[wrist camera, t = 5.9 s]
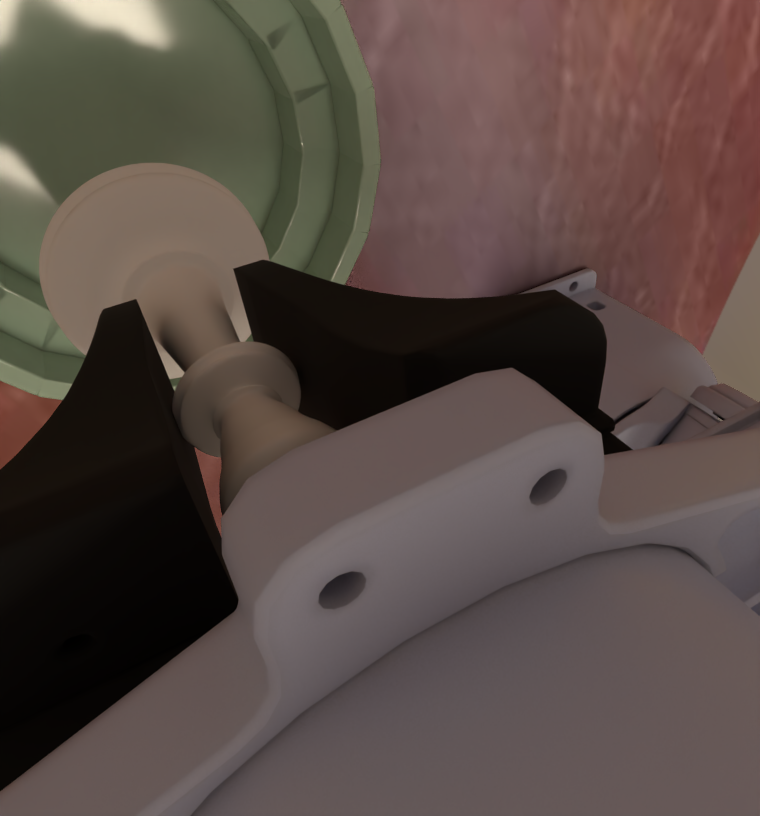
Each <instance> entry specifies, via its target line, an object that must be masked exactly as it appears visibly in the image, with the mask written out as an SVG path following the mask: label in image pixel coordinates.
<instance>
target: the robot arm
mask: <svg viewBox="0 0 760 816" xmlns="http://www.w3.org/2000/svg"><path fill="white" fill-rule="evenodd" d="M233 270H234V274H235V277H236V281H237V284H238V288H239V291H240V295H241V298H242V302H243V305H244V309H245V312H246V316H247V319H248V323H249V326H250V330H251V334H252V337H253V341H254V342H259V343H264V344H267V345H270V346H272V347H274V348H276V349H278V350H279V351H281V352H282V353H284V354H285V355H286V356H287V357H288V358H289V359H290V361H291V362H292V364H293V365H294V367H295V369H296V371H297V374H298V378H299V384H300V389H301V400H300V405H299V409H298V412H299V413H301V414H303V415H305V416H307V417H309V418H312V419H316V420H318V421H320V422H322V423H324V424H326V425H328V426H330V427H332V428H333V429H335V430H337V431H336V432H333V433H331V434H328V435H326V436H323V437H321V438H319V439H316V440H314V441H311V442H309V443H307V444H304V445H302V446H299V447H297V448H295V449H292V450H290V451H289V452H287V453H286V454H284V455H283V456H281V457H280V458H278V459H277V460H275V461H274V462H272V463H271V464H269V465H268V466H266V467H265V468H263V469H262V470H260V471H258V472H257V473H255V474H254V475H252V476H251V477H249V478H248V479H247V480H246V481H245V483H244V484H243V486H242V487H241V489H240V491H239V492H238V494H237V495H236V497H235V498H234V500H233V501H232V503H231V504H230V506H229V507H228V509H227V510H226V512H225V514H224V515H223V517H222V518H221V532H222V538H221V536H220V533H219V531H218V528H217V526H216V523H215V520H214V517H213V514H212V511H211V508H210V504H209V501H208V497H207V493H206V489H205V486H204V482H203V478H202V475H201V471H200V467H199V463H198V460H197V456H196V452H195V449H194V446H193V445H192V444H190V443H189V442H188V441H187V440H186V439H185V438H184V437H183V436H182V434H181V431H180V429H179V427H178V424H177V422H176V420H175V417H174V414H173V412H172V402H173V396H174V393H175V391H174V389H173V387H172V384H171V382H170V379H169V377H168V374H167V372H166V370H165V367H164V365H163V362H162V360H161V357H160V355H159V353H158V350H157V348H156V345H155V343H154V340H153V338H152V336H151V333H150V331H149V328H148V326H147V323H146V321H145V318H144V316H143V314H142V311H141V309H140V306H139V304H138V302H137V299H134V300H131V301H128V302H124V303H121V304H118V305H115V306H111V307H108V308H105V309H103V310H102V312H101V314H100V316H99V320H98V323H97V327H96V330H95V333H94V336H93V339H92V342H91V344H90V347H89V349H88V352H87V354H86V357H85V359H84V362H83V364H82V366H81V368H80V370H79V372H78V374H77V376H76V378H75V380H74V382H73V384H72V386H71V387H70V389H69V391H68V393H67V394H66V396H65V397H64V399H63V401H62V402H61V403H60V405H59V406H58V407H57V409H56V410H55V412H54V413H53V414H52V416H51V417H50V418H49V420H48V421H47V422H46V423H45V424H44V426H43V427H42V428H41V429H40V430H39V431H38V432H37V433H36V434H35V435H34V436H33V438H32V439H31V440H30V441H29V442H28V443H27V444H26V445H25V446H24V447H23V448H22V449H21V451H20V452H19V453H18V454H17V455H16V456H15V457H14V458H13V459H12V460H10V461H9V462H8V463H7V464H6V465H5V466H4V467H3V468H2V469H1V470H0V816H760V402H757V401H755V400H754V399H752V398H750V397H748V396H747V395H745V394H743V393H741V392H739V391H738V390H736V389H734V388H732V387H730V386H728V385H726V384H718V383H717V380H716V377H715V375H714V373H713V371H712V370H711V367H710V366H709V364H708V363H707V361H706V360H705V358H704V357H703V356H702V354H701V353H700V352H699V351H698V350H697V349H696V348H695V347H694V346H693V345H692V344H691V343H690V342H689V341H687V340H686V339H684V338H683V337H681V336H680V335H678V334H676V333H675V332H673V331H671V330H669V329H667V328H666V327H664V326H662V325H660V324H659V323H657V322H655V321H653V320H651V319H650V318H648V317H646V316H644V315H642V314H641V313H639V312H637V311H635V310H633V309H632V308H630V307H628V306H626V305H624V304H623V303H621V302H619V301H617V300H616V299H614V298H612V297H610V296H608V295H607V294H605V293H603V292H601V291H599V290H598V289H596V288H595V285H596V278H597V274H596V272H595V271H593V270H591V269H589V268H587V269H584V270H581V271H578V272H576V273H573V274H570V275H568V276H565V277H562V278H560V279H557V280H554V281H552V282H549V283H546V284H544V285H541V286H538V287H536V288H533V289H530V290H528V291H525V292H522V293H520V294H516V295H509V296H500V297H484V298H460V299H444V298H421V297H409V296H400V295H393V294H386V293H379V292H373V291H368V290H363V289H359V288H355V287H351V286H347V285H343V284H339V283H335V282H332V281H328V280H325V279H322V278H319V277H316V276H313V275H310V274H307V273H304V272H301V271H298V270H295V269H292V268H289V267H286V266H283V265H281V264H278V263H275V262H271V261H268V260H259V261H256V262H253V263H250V264H247V265H243V266H240V267H237V268H234V269H233ZM571 284H572V285H571ZM570 285H571V286H570ZM718 417H719V418H720V419H722V420H723V421H719V420H718Z"/></svg>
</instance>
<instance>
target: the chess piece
mask: <svg viewBox="0 0 760 816" xmlns="http://www.w3.org/2000/svg"><path fill="white" fill-rule="evenodd" d="M259 260H268V261H269V255H268V251H267V248H266V245H265V242H264V239H263V237H262V235H261V233H260V231H259V229H258V227H257V225H256V224H255V222H254V220H253V218H252V217H251V215H250V213H249V212H248V210H247V209H246V208H245V206H244V205H243V204H242V203H241V202H240V200H239V199H238V198H237V197H236V196H235V195H234V194H233V193H232V192H230V191H229V190H228V189H227V188H226V187H224V186H223V185H222V184H220V183H219V182H217V181H216V180H214V179H212V178H210V177H209V176H207V175H205V174H202V173H200V172H198V171H195V170H193V169H190V168H186V167H183V166H178V165H173V164H167V163H138V164H131V165H126V166H122V167H118V168H115V169H112V170H109V171H106V172H104V173H102V174H100V175H98V176H96V177H94V178H92V179H90V180H89V181H87V182H86V183H84V184H83V185H81V186H80V187H79V188H77V189H76V190H75V191H74V192H73V193H72V194H71V195H70V196H69V197H68V198H67V199H66V200H65V201H64V202H63V203H62V204H61V206H60V207H59V208H58V210H57V211H56V213H55V214H54V216H53V217H52V219H51V221H50V223H49V225H48V227H47V229H46V232H45V235H44V238H43V241H42V245H41V250H40V257H39V276H40V283H41V288H42V292H43V296H44V299H45V301H46V304H47V306H48V308H49V310H50V312H51V314H52V316H53V318H54V319H55V321H56V322H57V324H58V325H59V326H60V328H61V330H62V331H63V332H64V334H65V335H66V337H67V338H68V339H69V340H70V341H71V343H72V344H73V345H74V346H75V347H76V348H77V349H78V350H80V351H81V352H82V353H83V354H84V355H86V354H87V352H88V349H89V347H90V344H91V342H92V339H93V336H94V333H95V330H96V327H97V323H98V320H99V316H100V314H101V312H102V310H103V309H105V308H108V307H111V306H115V305H118V304H121V303H124V302H128V301H131V300H134V299H137V302H138V304H139V306H140V309H141V311H142V314H143V316H144V318H145V321H146V323H147V326H148V328H149V331H150V333H151V336H152V338H153V340H154V343H155V345H156V348H157V350H158V353H159V355H160V357H161V360H162V362H163V365H164V367H165V370H166V372H167V374H168V377H169V379H174V378H180V377H182V378H181V379H180V381H179V383H178V385H177V387H176V390H175V393H174V396H173V402H172V412H173V414H174V417H175V420H176V422H177V424H178V427H179V429H180V431H181V434H182V436H183V437H184V438H185V439H186V440H187V441H188V442H189V443H190V444H192V445H193V446H194V447H196V448H197V449H198V450H200V451H202V452H204V453H206V454H209V455H212V456H216V457H221V460H222V471H221V475H220V506H221V512H222V515H224V514H225V512H226V510H227V509H228V507H229V506H230V504H231V503H232V501H233V500H234V498H235V497H236V495H237V494H238V492H239V491H240V489H241V487H242V486H243V484H244V483H245V481H246V480H247V479H248V478H249V477H251V476H252V475H254V474H255V473H257V472H258V471H260V470H262V469H263V468H265V467H266V466H268V465H269V464H271V463H272V462H274V461H275V460H277V459H278V458H280V457H281V456H283V455H284V454H286V453H287V452H289V451H290V450H292V449H295V448H297V447H299V446H302V445H304V444H307V443H309V442H311V441H314V440H316V439H319V438H321V437H323V436H326V435H328V434H331V433H333V432H336V431H337V430H335V429H333V428H332V427H330V426H328V425H326V424H324V423H322V422H320V421H318V420H316V419H312V418H309V417H307V416H305V415H303V414H301V413H299V412H298V409H299V405H300V400H301V389H300V384H299V378H298V374H297V371H296V369H295V367H294V365H293V364H292V362H291V361H290V359H289V358H288V357H287V356H286V355H285V354H284V353H282V352H281V351H279V350H278V349H276V348H274V347H272V346H270V345H267V344H264V343H259V342H245V341H246V340H247V339H248V337H249V336H250V335H251V330H250V326H249V323H248V319H247V316H246V312H245V309H244V305H243V302H242V298H241V295H240V291H239V288H238V284H237V281H236V277H235V274H234V270H233V269H234V268H237V267H240V266H243V265H247V264H250V263H253V262H256V261H259Z"/></svg>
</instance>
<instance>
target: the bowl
mask: <svg viewBox="0 0 760 816" xmlns="http://www.w3.org/2000/svg"><path fill="white" fill-rule="evenodd" d="M372 85H373V83H372V80H371V78H370V75H369V73H368V70H367V67H366V65H365V62H364V59H363V57H362V54H361V52H360V49H359V46H358V44H357V41H356V38H355V36H354V33H353V30H352V28H351V25H350V23H349V20H348V17H347V15H346V12H345V9H344V7H343V5H342V4H341V1H340V0H0V381H2V382H5V383H7V384H10V385H12V386H14V387H17V388H19V389H22V390H24V391H26V392H29V393H31V394H33V395H37V396H39V397H45V398H52V399H59V400H63V399H64V397H65V396H66V394H67V393H68V391H69V389H70V387H71V386H72V384H73V382H74V380H75V378H76V376H77V374H78V372H79V370H80V368H81V366H82V364H83V362H84V359H85V357H86V355H84V354H83V353H82V352H81V351H80V350H78V349H77V348H76V347H75V346H74V345H73V344H72V343H71V341H70V340H69V339H68V338H67V337H66V335H65V334H64V332H63V331H62V330H61V328H60V326H59V325H58V324H57V322H56V321H55V319H54V318H53V316H52V314H51V312H50V310H49V308H48V306H47V304H46V301H45V299H44V296H43V292H42V288H41V283H40V276H39V257H40V250H41V245H42V241H43V238H44V235H45V232H46V229H47V227H48V225H49V223H50V221H51V219H52V217H53V216H54V214H55V213H56V211H57V210H58V208H59V207H60V206H61V204H62V203H63V202H64V201H65V200H66V199H67V198H68V197H69V196H70V195H71V194H72V193H73V192H74V191H75V190H76V189H77V188H79V187H80V186H81V185H83V184H84V183H86V182H87V181H89V180H90V179H92V178H94V177H96V176H98V175H100V174H102V173H104V172H106V171H109V170H112V169H115V168H118V167H122V166H126V165H131V164H138V163H167V164H173V165H178V166H183V167H186V168H190V169H193V170H195V171H198V172H200V173H202V174H205V175H207V176H209V177H210V178H212V179H214V180H216V181H217V182H219V183H220V184H222V185H223V186H224V187H226V188H227V189H228V190H229V191H230V192H232V193H233V194H234V195H235V196H236V197H237V198H238V199H239V200H240V202H241V203H242V204H243V205H244V206H245V208H246V209H247V210H248V212H249V213H250V215H251V217H252V218H253V220H254V222H255V224H256V225H257V227H258V229H259V231H260V233H261V235H262V237H263V239H264V242H265V245H266V248H267V251H268V255H269V261H271V262H275V263H278V264H281V265H283V266H286V267H289V268H292V269H295V270H298V271H301V272H304V273H307V274H310V275H313V276H316V277H319V278H322V279H325V280H328V281H332V282H335V283H339V284H343V285H345V284H346V282H347V279H348V277H349V275H350V273H351V271H352V269H353V267H354V264H355V262H356V260H357V258H358V256H359V254H360V252H361V249H362V247H363V245H364V243H365V241H366V239H367V237H368V232H369V231H370V225H371V219H372V213H373V207H374V201H375V196H376V190H377V184H378V178H379V172H380V167H381V166H380V163H381V156H380V145H379V135H378V124H377V114H376V103H375V93H374V87H373V86H372ZM245 342H254V341H253V337H252V334H251V335H250V336H249V337H248V339H247V340H246V341H245ZM181 378H182V377H180V378H174V379H170V382H171V384H172V387H173V389H174V391H175V390H176V387H177V385H178V383H179V381H180V379H181Z"/></svg>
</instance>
